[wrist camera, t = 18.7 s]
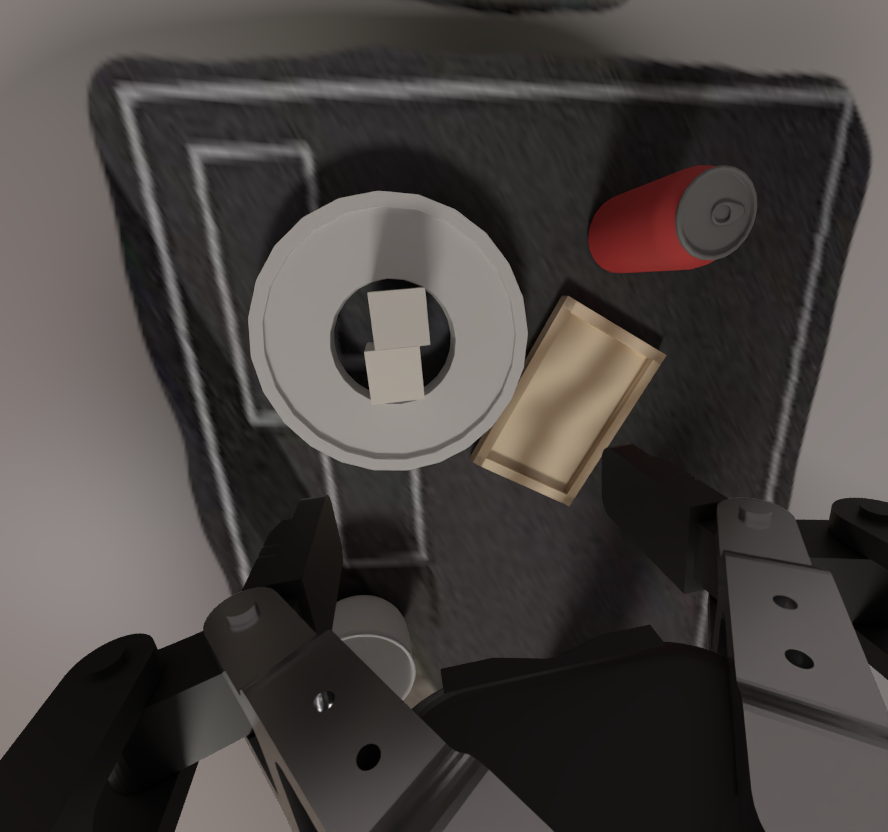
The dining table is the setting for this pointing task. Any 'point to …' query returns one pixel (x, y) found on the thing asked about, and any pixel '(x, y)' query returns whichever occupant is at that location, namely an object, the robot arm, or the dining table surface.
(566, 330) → the tray
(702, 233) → the beer can
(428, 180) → the dining table surface
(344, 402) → the ashtray
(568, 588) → the dining table surface
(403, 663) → the teacup
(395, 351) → the stone block
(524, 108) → the dining table surface
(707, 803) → the robot arm
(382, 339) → the stone block
